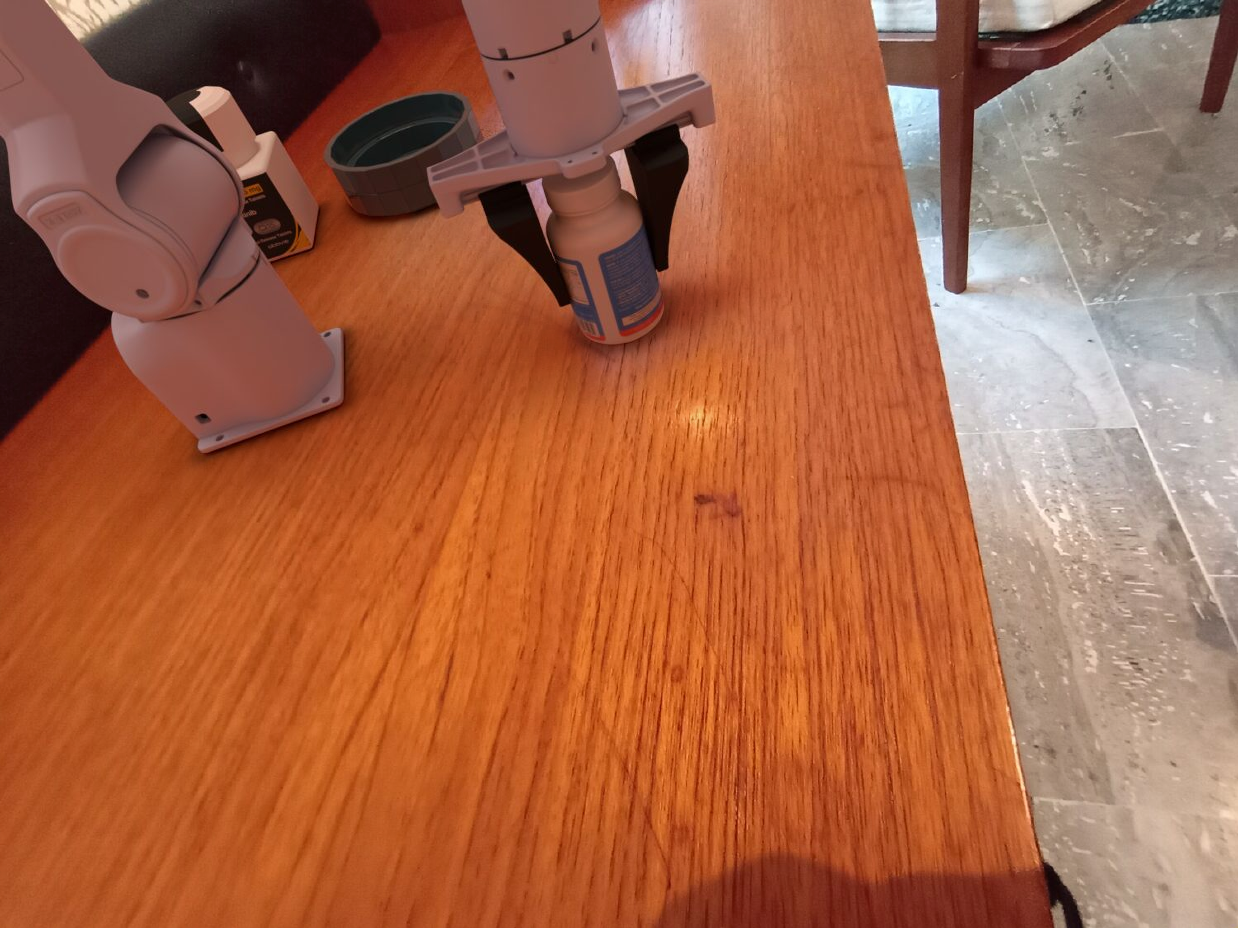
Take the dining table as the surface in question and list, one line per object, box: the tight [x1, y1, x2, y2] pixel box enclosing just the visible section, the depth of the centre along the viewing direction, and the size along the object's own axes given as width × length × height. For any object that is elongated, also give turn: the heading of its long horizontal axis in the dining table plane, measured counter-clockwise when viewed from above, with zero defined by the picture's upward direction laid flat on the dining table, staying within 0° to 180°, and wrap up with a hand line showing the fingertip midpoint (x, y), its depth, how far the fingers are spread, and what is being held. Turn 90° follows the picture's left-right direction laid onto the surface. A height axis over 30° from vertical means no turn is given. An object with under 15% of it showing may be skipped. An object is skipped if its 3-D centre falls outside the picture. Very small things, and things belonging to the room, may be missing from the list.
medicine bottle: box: [164, 85, 320, 263], centre depth 58 cm, size 7×7×12 cm
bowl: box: [323, 89, 485, 217], centre depth 62 cm, size 13×13×4 cm
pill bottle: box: [541, 154, 665, 345], centre depth 41 cm, size 6×5×10 cm
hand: (609, 279), depth 43 cm, fingers closed on pill bottle, 5 cm apart
